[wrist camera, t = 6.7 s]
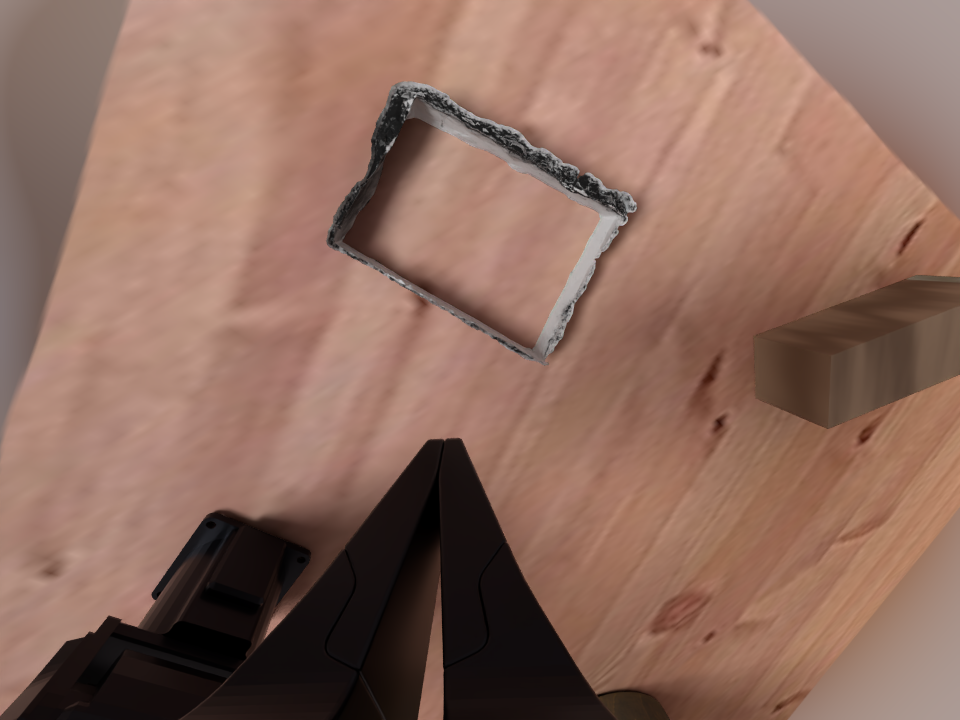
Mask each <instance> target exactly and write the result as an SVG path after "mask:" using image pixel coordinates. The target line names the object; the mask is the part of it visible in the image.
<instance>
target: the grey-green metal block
mask: <svg viewBox="0 0 960 720" xmlns="http://www.w3.org/2000/svg"><path fill="white" fill-rule="evenodd" d="M753 340H754V369H755V397H756V399H759V400H761V401H763V402H766V403H768V404H770V405H773V406H775V407H777V408H780V409H782V410H785V411H787V412H789V413H792V414H794V415H796V416H799V417H801V418H803V419H806V420H808V421H810V422H813V423H815V424H818V425H820V426H822V427H825V428H827V429H829V428H832V427H834V426H836V425H839V424H841V423H844V422H846V421H848V420H851V419H853V418H856V417H858V416H861V415H863V414H865V413H868V412H870V411H873V410H875V409H878V408H880V407H882V406H885V405H887V404H890V403H892V402H894V401H897V400H899V399H902V398H904V397H907V396H909V395H911V394H914V393H916V392H919V391H921V390H924V389H926V388H928V387H931V386H933V385H936V384H938V383H940V382H943V381H945V380H948V379H950V378H953V377H955V376H957V375H960V277H944V276H925V275H916V276H913V277H910V278H908V279H905V280H902V281H900V282H897V283H894V284H892V285H889V286H886V287H884V288H881V289H878V290H876V291H873V292H870V293H868V294H865V295H862V296H860V297H857V298H854V299H852V300H849V301H846V302H843V303H841V304H838V305H835V306H833V307H830V308H827V309H825V310H822V311H819V312H817V313H814V314H811V315H809V316H806V317H803V318H801V319H798V320H795V321H793V322H790V323H787V324H785V325H782V326H779V327H777V328H774V329H771V330H769V331H766V332H763V333H761V334H758V335H755V336H753Z"/></svg>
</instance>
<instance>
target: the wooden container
mask: <svg viewBox="0 0 960 720" xmlns="http://www.w3.org/2000/svg"><path fill="white" fill-rule="evenodd" d="M599 699H600V700H601V701H602V702H603V704H604V705H605V706H606V707H607V708H608V709H609V711H610V712H611V713H612V714H613V715H614V716H615V717H616V718H617V719H618V720H670V719H669V717H668V716H667V714H666V712H665V711H664V709H663V707H662V706H661V705H660V703H659V702H658V701H657V700H656V699H654V698H653V697H650V696H648V695H645V694H642V693H638V692H617V693H610V694H606V695H602V696H599Z"/></svg>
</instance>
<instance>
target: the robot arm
mask: <svg viewBox="0 0 960 720" xmlns="http://www.w3.org/2000/svg"><path fill="white" fill-rule="evenodd" d="M210 521H213V522H215V523H216V524H212V523H211V522H210ZM300 557H304V558H300ZM310 558H311V552H310V551H309V550H308V549H305V548H303V547H300V546H298V545H295V544H293V543H291V542H288V541H286V540H283V539H281V538H278V537H276V536H273V535H271V534H268V533H266V532H263V531H261V530H258V529H256V528H253V527H251V526H248V525H246V524H243V523H241V522H238V521H236V520H233V519H231V518H228V517H226V516H223V515H221V514H218V513H210V514H208V515H207V516H206V517H205V518H204V519H203V521H202V522H201V524H200V525H199V527H198V528H197V529H196V531H195V532H194V534H193V535H192V536H191V538H190V539H189V541H188V542H187V544H186V545H185V546H184V548H183V549H182V551H181V552H180V554H179V555H178V556H177V558H176V559H175V561H174V562H173V564H172V565H171V566H170V568H169V569H168V571H167V572H166V574H165V575H164V576H163V578H162V579H161V581H160V582H159V584H158V585H157V586H156V588H155V589H154V591H153V592H152V598H153V599H154V600H156V601H155V603H154V604H153V606H152V607H151V609H150V610H149V611H148V613H147V614H146V616H145V617H144V619H143V620H142V622H141V623H140V624H139V626H138V627H135V626H131V625H128V624H125V623H122V622H121V620H122V619H119V618H115V617H112V616H108V617H107V619H106V620H105V621H104V622H103V624H102V625H101V626H100V627H99V629H98V630H97V631H96V632H95V633H93V632H90V631H89V633H88V634H87V635H86V636H85V637H83V638H79V639H75V640H70V641H66V643H65V644H64V645H63V646H62V647H61V649H60V650H59V651H58V652H57V653H56V654H55V656H54V657H53V658H52V659H51V660H50V662H49V663H48V664H47V665H46V666H45V667H44V669H43V670H42V671H41V672H40V673H39V674H38V676H37V677H36V678H35V679H34V680H33V681H32V682H31V684H30V685H29V686H28V687H27V688H26V689H25V690H24V691H23V692H22V694H21V695H20V696H19V697H18V698H17V699H16V700H15V701H14V702H13V703H12V704H11V705H10V706H9V707H8V709H7V710H6V711H5V712H4V713H3V714H2V715H1V716H0V720H418V713H419V707H420V700H421V694H422V687H423V680H424V674H425V667H426V661H427V654H428V648H429V641H430V635H431V628H432V622H433V615H434V609H435V602H436V595H437V589H438V582H439V576H440V569H441V602H442V639H443V668H444V674H443V676H444V715H443V720H618V719H617V718H616V717H615V716H614V715H613V714H612V713H611V712H610V711H609V709H608V708H607V707H606V706H605V705H604V704H603V702H602V701H601V700H600V699H599V697H598V696H597V695H596V693H595V692H594V691H593V689H592V688H591V686H590V685H589V683H588V682H587V681H586V679H585V678H584V676H583V675H582V673H581V672H580V670H579V668H578V667H577V665H576V664H575V662H574V661H573V659H572V657H571V656H570V654H569V652H568V651H567V649H566V647H565V646H564V644H563V643H562V641H561V639H560V638H559V636H558V634H557V633H556V631H555V629H554V628H553V626H552V625H551V623H550V621H549V620H548V618H547V616H546V615H545V613H544V612H543V610H542V608H541V607H540V605H539V603H538V602H537V600H536V598H535V596H534V595H533V593H532V591H531V589H530V587H529V586H528V584H527V582H526V580H525V578H524V576H523V574H522V572H521V570H520V568H519V566H518V564H517V562H516V560H515V558H514V556H513V553H512V551H511V549H510V547H509V544H508V543H507V541H506V538H505V536H504V534H503V531H502V529H501V527H500V525H499V522H498V520H497V518H496V516H495V513H494V511H493V509H492V507H491V504H490V502H489V500H488V498H487V495H486V493H485V491H484V488H483V486H482V484H481V482H480V479H479V477H478V475H477V473H476V470H475V468H474V466H473V464H472V461H471V459H470V457H469V455H468V452H467V450H466V448H465V446H464V443H463V441H462V439H460V438H448V439H446V440H445V441H444V440H443V439H430V440H428V441H427V442H426V443H425V444H424V445H423V447H422V448H421V449H420V451H419V452H418V453H417V454H416V456H415V457H414V458H413V460H412V461H411V462H410V463H409V465H408V466H407V467H406V469H405V470H404V471H403V472H402V474H401V475H400V476H399V478H398V479H397V480H396V481H395V483H394V484H393V485H392V487H391V488H390V489H389V490H388V492H387V493H386V494H385V496H384V497H383V498H382V499H381V501H380V502H379V503H378V505H377V506H376V507H375V508H374V510H373V511H372V512H371V514H370V515H369V516H368V517H367V519H366V520H365V521H364V523H363V524H362V525H361V526H360V528H359V529H358V530H357V532H356V533H355V534H354V535H353V537H352V538H351V539H350V541H349V542H348V543H347V544H346V546H345V549H343V550H342V551H341V552H340V553H339V555H338V556H337V557H336V558H335V560H334V561H333V562H332V564H331V565H330V566H329V567H328V568H327V570H326V571H325V572H324V573H323V575H322V576H321V577H320V578H319V579H318V581H317V582H316V583H315V584H314V586H313V587H312V588H311V589H310V590H309V591H308V592H307V593H306V595H305V596H304V597H303V598H302V599H301V600H300V601H299V602H298V604H297V605H296V606H295V607H294V608H293V609H292V610H291V611H290V613H289V614H288V615H287V616H286V617H285V618H284V619H283V620H282V621H281V622H280V623H279V624H278V625H277V627H276V628H275V629H274V630H273V631H272V632H271V633H270V634H269V635H268V636H267V637H266V638H265V635H266V632H267V629H268V627H269V624H270V621H271V618H272V615H273V612H274V609H275V607H276V606H277V604H278V603H279V602H280V600H281V599H282V598H283V596H284V595H285V594H286V592H287V591H288V590H289V589H290V587H291V586H292V585H293V583H294V582H295V581H296V579H297V578H298V577H299V575H300V574H301V573H302V571H303V570H304V569H305V567H306V566H307V565H308V563H309V561H310ZM264 638H265V639H264Z"/></svg>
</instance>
